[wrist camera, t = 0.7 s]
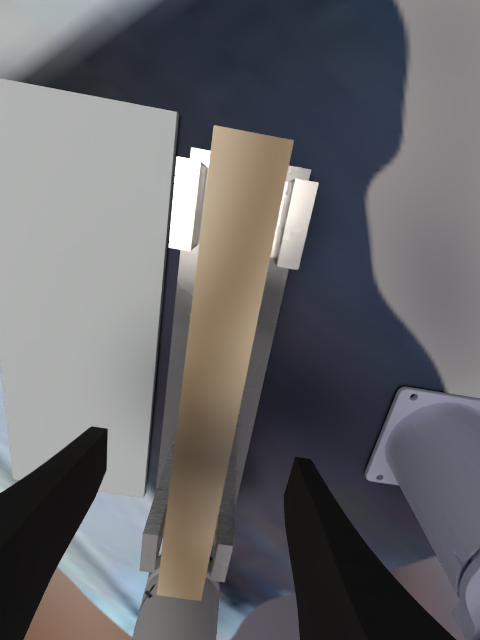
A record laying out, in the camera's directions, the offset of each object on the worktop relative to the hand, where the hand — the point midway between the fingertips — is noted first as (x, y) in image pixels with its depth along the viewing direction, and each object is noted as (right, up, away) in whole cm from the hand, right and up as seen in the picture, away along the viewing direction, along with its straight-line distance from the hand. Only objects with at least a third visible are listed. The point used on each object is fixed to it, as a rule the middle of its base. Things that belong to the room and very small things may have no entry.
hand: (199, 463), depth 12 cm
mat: (-9, +5, +8) cm, 13 cm away
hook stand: (0, +3, +9) cm, 9 cm away
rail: (0, +1, +4) cm, 4 cm away
